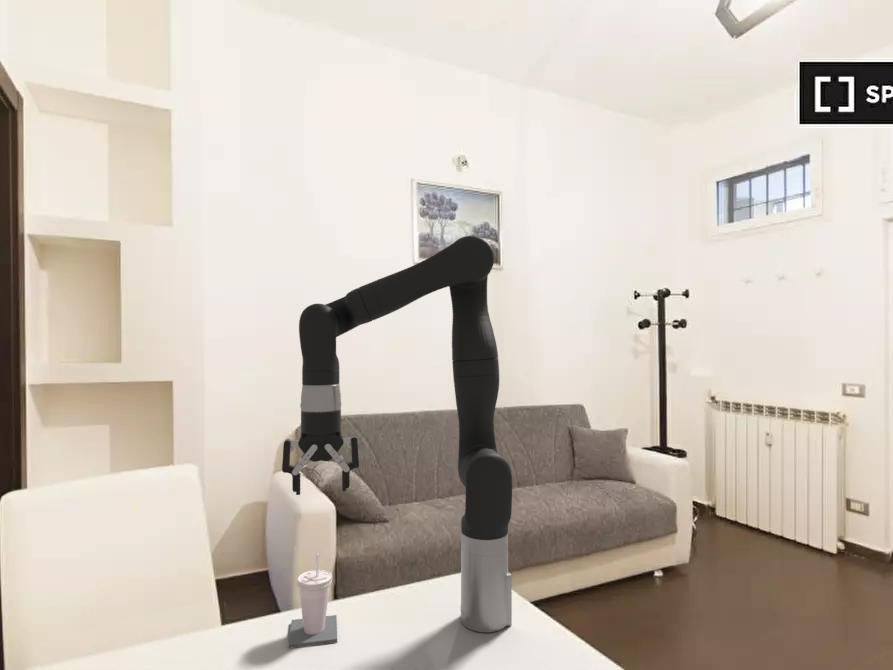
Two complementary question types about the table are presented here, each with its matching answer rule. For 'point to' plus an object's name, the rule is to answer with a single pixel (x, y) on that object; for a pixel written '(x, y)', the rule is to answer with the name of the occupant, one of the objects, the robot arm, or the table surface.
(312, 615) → the smoothie
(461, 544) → the robot arm
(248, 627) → the table surface
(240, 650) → the table surface
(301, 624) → the coaster
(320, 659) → the table surface
